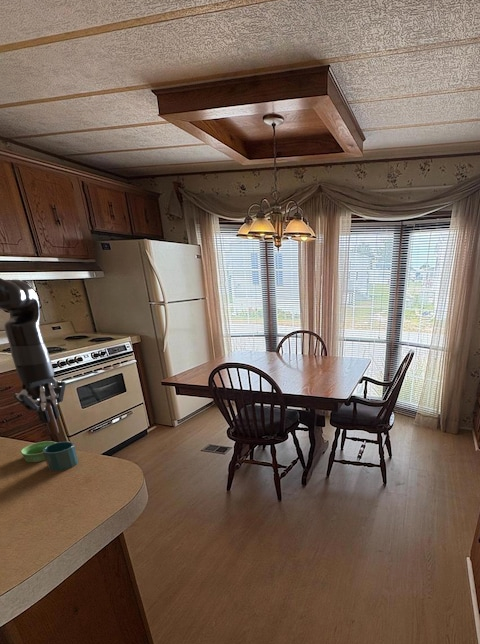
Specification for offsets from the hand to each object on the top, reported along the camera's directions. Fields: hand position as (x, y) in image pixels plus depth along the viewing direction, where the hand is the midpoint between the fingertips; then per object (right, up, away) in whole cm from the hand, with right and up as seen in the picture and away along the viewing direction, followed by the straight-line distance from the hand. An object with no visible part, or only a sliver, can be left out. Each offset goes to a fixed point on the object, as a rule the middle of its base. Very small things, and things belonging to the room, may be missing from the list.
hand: (50, 420), depth 97 cm
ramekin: (-11, -13, +11) cm, 20 cm away
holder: (-1, -15, +6) cm, 16 cm away
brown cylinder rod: (0, -4, +2) cm, 4 cm away
